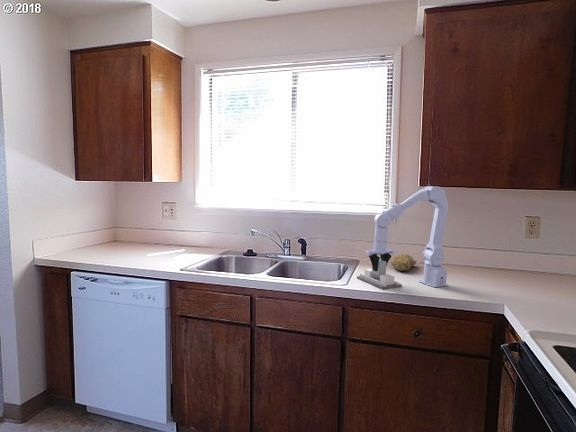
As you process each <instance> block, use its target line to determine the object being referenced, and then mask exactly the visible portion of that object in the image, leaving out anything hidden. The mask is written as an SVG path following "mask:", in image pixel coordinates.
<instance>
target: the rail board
mask: <svg viewBox="0 0 576 432" xmlns="http://www.w3.org/2000/svg"><path fill="white" fill-rule="evenodd" d="M356 279H358V280H359V281H362V282H364V283H367V284H369V285H371V286H373V287H375V288H378V289H380V290H387V289H394V288H402V287H403V283H400V282H399V281H396V280H395V276H394V275H391V274H390V273H388V274H387V273H386V274H385V275H380V276H378V275H375V274H373V273H372V267H371V268H370V267H369V268H365V269H364V274H363V273H359V275H357V276H356Z"/></svg>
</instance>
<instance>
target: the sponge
mask: <svg viewBox="0 0 576 432" xmlns="http://www.w3.org/2000/svg"><path fill="white" fill-rule="evenodd" d="M416 263H417V259H416V258H415V257H414V256H413V257H412V256H411V255H409V254H400V255H397V256H395V257H392V259H390V265H391V266H392V267H393V268H395V269H396V270H398V271H404V272H405V271H408V270H410V269H411V268H412V267H413V266H415V265H416Z"/></svg>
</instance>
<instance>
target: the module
mask: <svg viewBox="0 0 576 432" xmlns="http://www.w3.org/2000/svg"><path fill="white" fill-rule="evenodd" d="M386 263H387V262H385V261H383V260H381V258H380V259H379V262H378V269H377V271H374V270H373V267H372V266H371V268H372V273H373V274H375V275H378V276H380V275H385V274H387V266H386ZM387 264H388V263H387Z"/></svg>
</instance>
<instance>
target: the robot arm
mask: <svg viewBox="0 0 576 432" xmlns="http://www.w3.org/2000/svg"><path fill="white" fill-rule="evenodd" d="M446 194H447V193H446V191H445V190H444V189H443V188H442V187H440V186H431V185H426V186H424V187H423V188H421V189H419V190H418V191H416V192H415V193H414V194H412V195H411V196H409V197H408V198H407V199H405V200H404V201H402V202H401V203H392V204H390V206H389V207H388V208H387V209H384V210H382V211H381V213H378V214H376V215H375V216H374V219H373V222H374V223H373V224H375V226H374V227H375V228H374V237H373V238H374V239H373V249H369V250H365V256H368V257H369V260H370V262H371V268H372V267H373V270H374V271H377V269H378V262H379V259H380V260H383V261H385V262H387V263H386V267H387V266H388V264H389V261H391V258H392V255H393V254H395V249H393V248H388V238H389V235H388V234H389V226H390V225H391V223H392V222H394V221H395V220H397V219H399V218H400V217H402V216H404V214H405V210H407V209H408V208H411V207H412V206H414V205H415V204H417V203H419V202H422V201H423V202H424V201H426V202H430V203H431V205H432V206H433V207H434V213H433V218H432V225H431V230H430V236H429V240H428V242H427V244H426V246H425V249H424V250H423V251H422V257H423V259H424V264H423V278H422V279H419V280H418V282H419V283H421V284H424V285H427V286H430V287H433V288H438V287H439V288H440V287H446V286H448V284H447V277H448V275H447V274H448V271H447V269H446V268H445V267H444V266H443V263H444V262H445V254H444V251H445V249H444V247H443V240H444V234H445V227H446V224H447V217H448V213H449V212H448V211H449V206H450V205H449V202H448V198H447V197H446Z"/></svg>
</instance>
